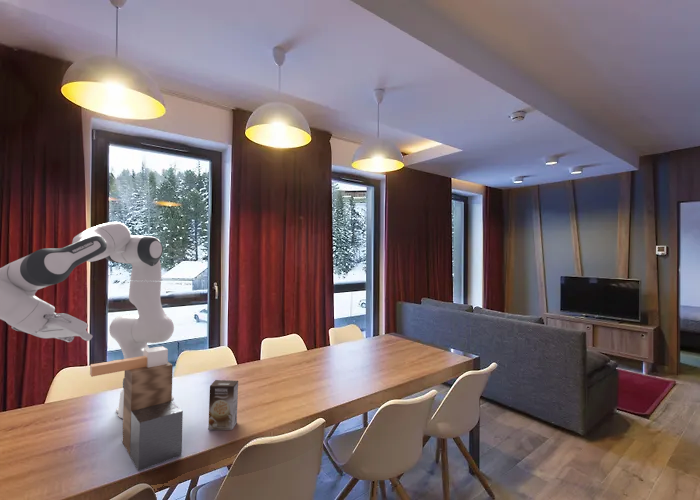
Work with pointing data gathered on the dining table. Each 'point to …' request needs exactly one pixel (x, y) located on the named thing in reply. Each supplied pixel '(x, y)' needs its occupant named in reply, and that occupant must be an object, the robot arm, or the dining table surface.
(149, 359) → the wooden handled mallet
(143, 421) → the block
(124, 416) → the tall wood-grain pillar
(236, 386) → the coffee box
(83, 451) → the dining table surface
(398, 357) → the dining table surface
